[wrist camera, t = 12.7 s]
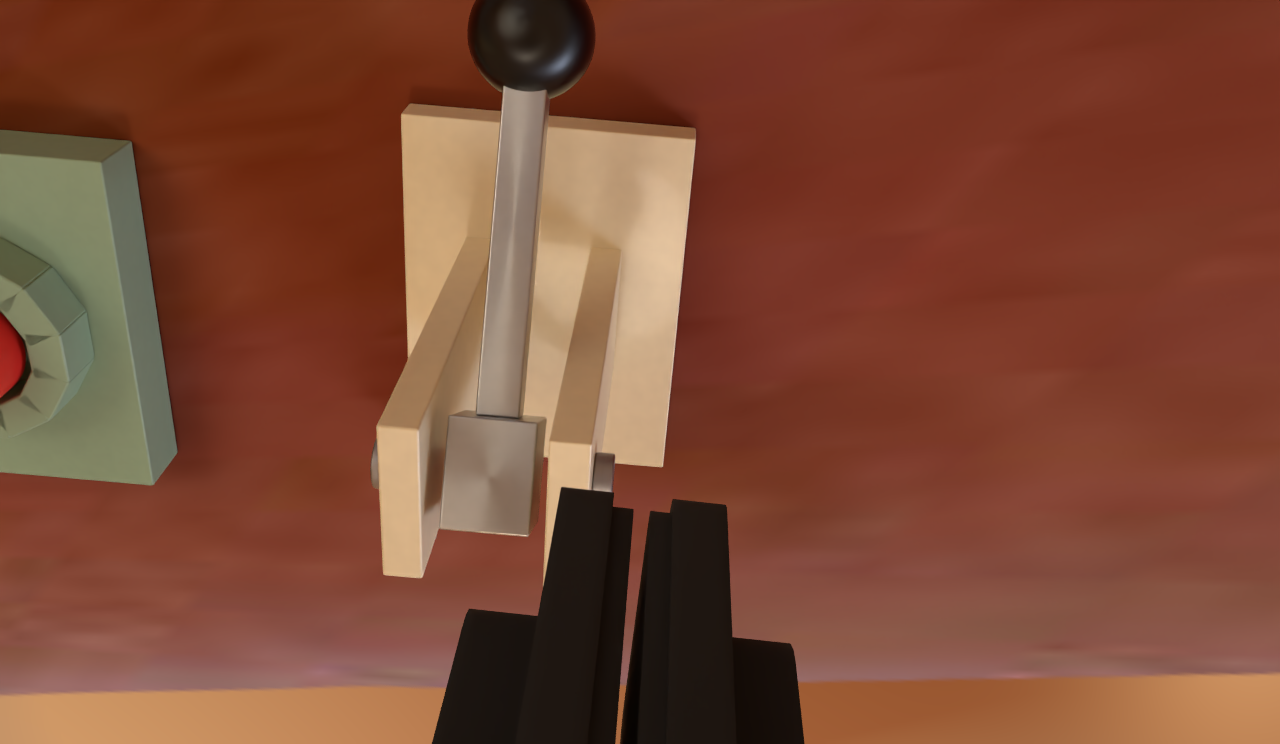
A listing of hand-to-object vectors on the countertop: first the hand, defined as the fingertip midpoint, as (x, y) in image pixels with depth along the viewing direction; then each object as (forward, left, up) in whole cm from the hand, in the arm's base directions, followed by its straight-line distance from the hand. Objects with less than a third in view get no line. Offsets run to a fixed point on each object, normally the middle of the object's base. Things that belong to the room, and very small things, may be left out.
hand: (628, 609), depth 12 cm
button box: (+11, -22, -26) cm, 35 cm away
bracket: (+9, -4, -26) cm, 27 cm away
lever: (+4, -4, -19) cm, 20 cm away
